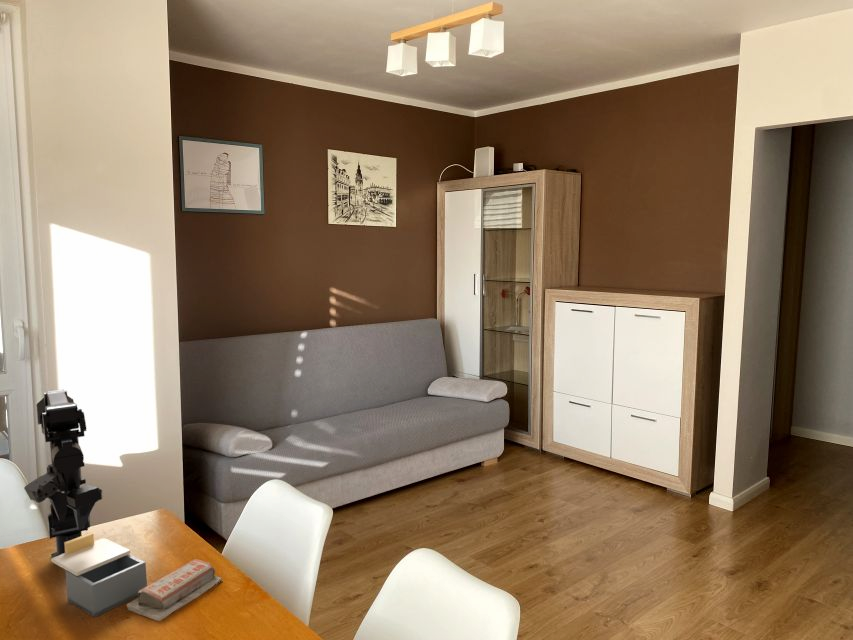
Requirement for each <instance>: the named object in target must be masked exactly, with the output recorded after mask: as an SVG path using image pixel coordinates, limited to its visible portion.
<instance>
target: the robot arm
mask: <svg viewBox="0 0 853 640" xmlns="http://www.w3.org/2000/svg"><path fill="white" fill-rule="evenodd" d="M35 406H36V418H37V425H40V426H41V428H40V429H41V433H42V434H43V435H44V441H45V443H49V447H50V448H49V450H50V461H51V464H48V465H47V467H46V473H44V474H43V475H40V476H38V477H36V479H34V480H32V481H31V482H30V483H27V484H25V486H24V487H23V488H24V490H25V492H26V495H27V496H28V498H29V499H30V500H31V501H35V502H36V503H42V502H44V501H45V500H46V499H48V500H49V502H50V507H49V510H50V511H49V512H50V513H48V514H47V529H48V536H49V539H53V538H55V546H56V547H55V549H56V551H55V552H53V553H51V554H50V556H51V558H54V557H56V556H59V555H61V554H64V553H65V545H64V542H67V541H70V540H72V539H75V538H78V537H80V536H83V534H82V532H84V531H85V532H87V531H89V528H91V523H90V519H91V517H90V516H91V512H92V510H93V508H94V506H95V504H96V503H97V502H99V501H101V500H103V489H101V488H99V487H97V486H95V485H92V484H88V485H86V484H87V483H86V481H87V480H86V478H84V477H82V469H81V468H83V467H85V461H84V458H85V457H84V453H83V451H82V448H81V446H80V443H79V438H81V437H85V432H87V424H86V417H85V412H84V411H83V409H82V408H81V407H78V404H77V403H75V402H74V399H73V398H71V396H69V395H68V391H67V390H65V389H56V390H55V389H54V390H49V391H48V390H47V391H45V392H43V397H42V399H41V400H40V401H38V402H37V403H36V405H35ZM82 485H84V486H82ZM81 486H82V487H81Z"/></svg>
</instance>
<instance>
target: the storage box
mask: <svg viewBox="0 0 853 640" xmlns="http://www.w3.org/2000/svg"><path fill="white" fill-rule="evenodd" d="M146 566H147V565H146V561H144V560H141V559H140V558H137V557H136V556H134V555H131V553H130V554H128V555H126V556H123V557H121V558H119V559H116V560H114V561H111V562H109V563H107V564H104V565H102V566H100V567H97V568H95V569H93V570H90V571H88V572H85V573H83V574H81V575H78V576H76V575H74V574H73V573H71V572H69V571H67V570H64V571H65V581H66V592H67V593H66V594H67V601H68V602H69V603H71V604H72V605H74V606H75V607H77V608H79V610H82V611H84V612H85V613H87V614H88V613H89V614H88V615H90V616H91V617H93V618H97V617H99V616H100V615H103V614H104V613H107V612H108V611H110V610H113V609H114V608H116V607H119V606H122V605H123V604H125V603H128V602H129V601H131V600H134V599H137V598H138V595H137V594H138V592H139V591H140V590H141V589H143V588H144V587H146V586H148V580H147V567H146Z"/></svg>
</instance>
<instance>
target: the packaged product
mask: <svg viewBox="0 0 853 640" xmlns="http://www.w3.org/2000/svg"><path fill="white" fill-rule="evenodd" d="M215 574H216V570H215V569H214V566H213V565H212V564H211V563H210V562H208V561H204V560H201V559H197V558H194V559H192V560H189V562H186V563H185V564H184V565H181V566H179V567H177V568H176V569H174V570H173V571H171V572H169V573H168V574H166V575H164V576H162V577H161V578H159V579H157V580H155V581H154V582H152V583H150V584H147V586H146V587H144V588H143V589H141V590H140V591H139V592H138V594H137V595H138V597H136V598H134V599H132V601H131V602H129V603H128V602H127V604H126V608H127V610H128V611H130V612H132V613H135V614H138V615H141V616H144V617H146V618H149V619H151V620H154V621H157V622H160V621H162V620H163V619H165V618H167V617H168V616H170V615H171V614H172V613H173V612H176V611H177V610H179V609H181V608H182V607H184V606H185V605H187V604H188V603H190V602H191V601H193V600H195V599H197V598H199V596H201V595H203V594H204V593H206V592H207V591H209V590H210V589H212V588H213V587H215V586H216V585H218V584H219V583H221V582H222V581H223V577H219V576H217V575H215ZM221 580H222V581H221ZM220 581H221V582H220ZM218 582H219V583H218ZM217 583H218V584H217ZM215 584H216V585H215ZM214 585H215V586H214ZM208 589H209V590H208Z"/></svg>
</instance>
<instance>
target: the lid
mask: <svg viewBox="0 0 853 640" xmlns="http://www.w3.org/2000/svg"><path fill="white" fill-rule="evenodd" d="M64 545H65V553H64V554H61V555H59V556H56V557H54V558H53V557H51V562H52V563H53V564H55V565H57V566H58V567H60V568H62V569H64V571H66V570H67V571H69V572H71V573H73V574H74V575H76V576H78V575H81V574H83V573H85V572H88V571H90V570H93V569H95V568H97V567H100V566H102V565H104V564H107V563H109V562H111V561H114V560H116V559H119V558H121V557H123V556H126V555H128V554H130V555H131V549H129V548H126V547H125V546H122V545H120V544H118V543H116V542H114V541H113V540H112V541H111V540H110V539H107V538H104V537H103V538H100V539H98V540H95V537H94V533H93V532H88V533H86V534H82V536H80V537H78V538H75V539H72V540H70V541H67V542H64Z"/></svg>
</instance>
